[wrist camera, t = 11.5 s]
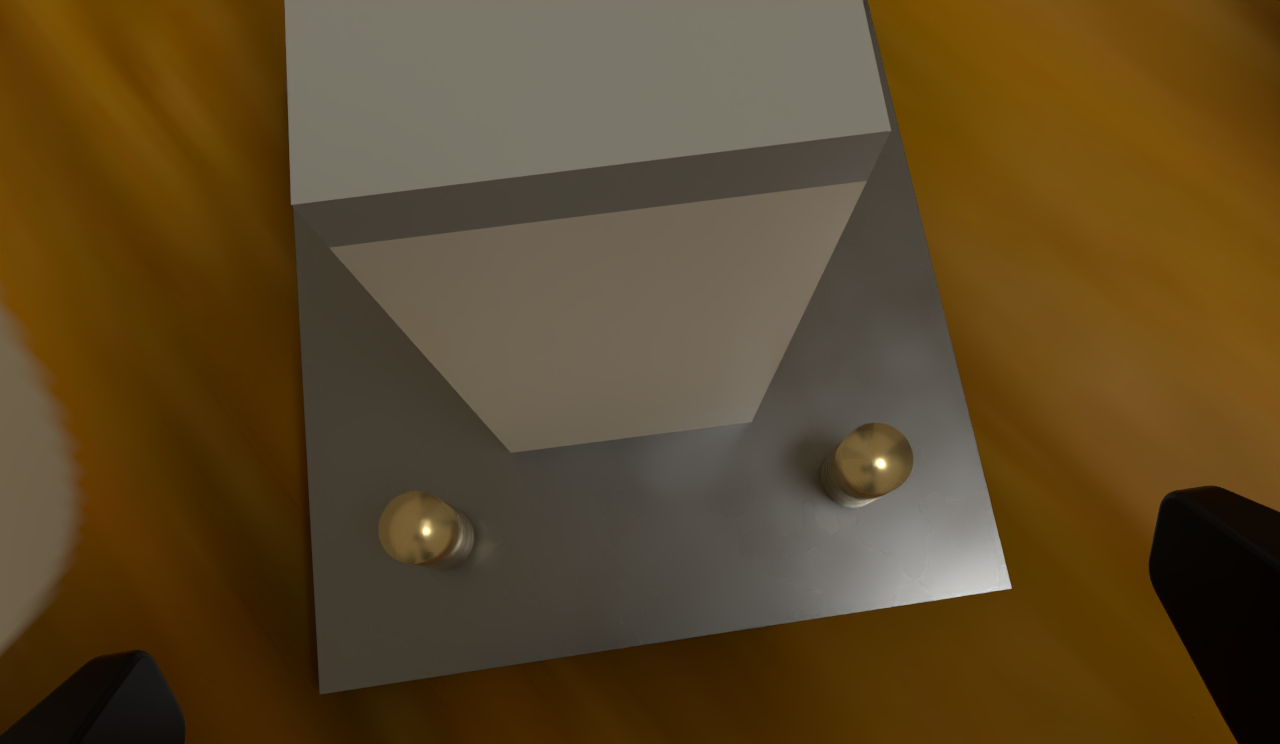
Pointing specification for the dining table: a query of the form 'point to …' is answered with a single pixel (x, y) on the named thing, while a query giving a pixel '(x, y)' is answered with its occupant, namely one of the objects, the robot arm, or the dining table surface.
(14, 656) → the dining table surface
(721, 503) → the plate
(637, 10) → the module box
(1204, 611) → the robot arm
